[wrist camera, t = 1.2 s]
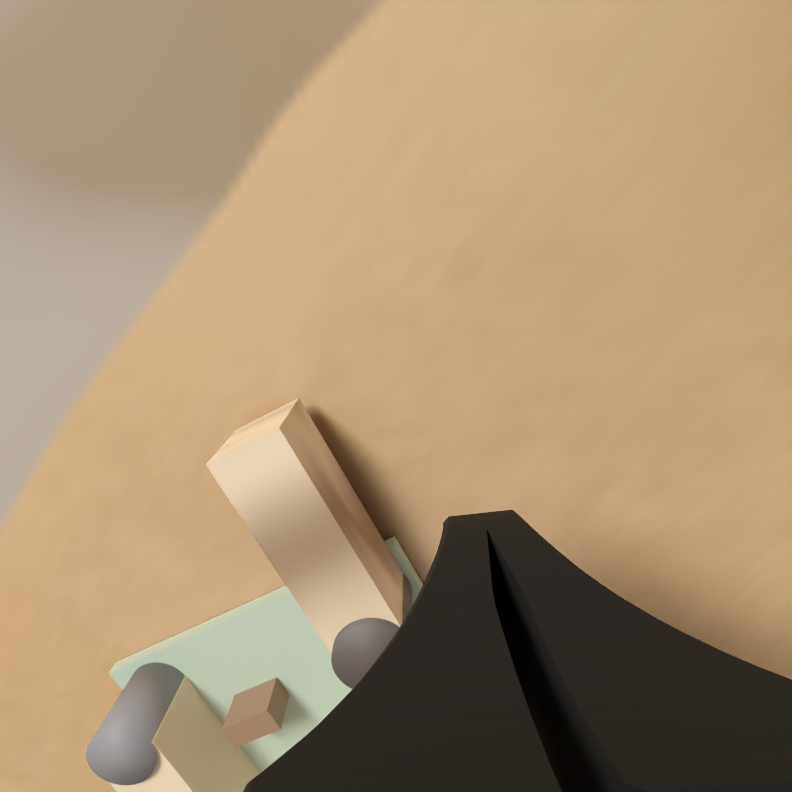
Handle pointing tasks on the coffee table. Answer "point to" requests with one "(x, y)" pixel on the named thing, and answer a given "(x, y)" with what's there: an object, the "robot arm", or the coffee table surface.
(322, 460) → the beige long rectangular block
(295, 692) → the hinged beam frame
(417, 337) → the coffee table surface
